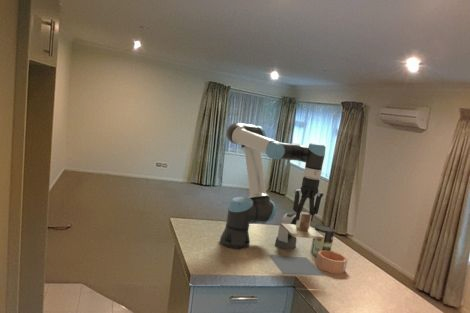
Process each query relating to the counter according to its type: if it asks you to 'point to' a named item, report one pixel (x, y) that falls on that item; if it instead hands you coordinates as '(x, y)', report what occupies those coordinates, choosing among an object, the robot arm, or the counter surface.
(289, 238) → the alarm clock
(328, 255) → the bowl
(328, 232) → the coffee can
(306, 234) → the lid
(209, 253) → the counter surface
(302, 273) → the mat
